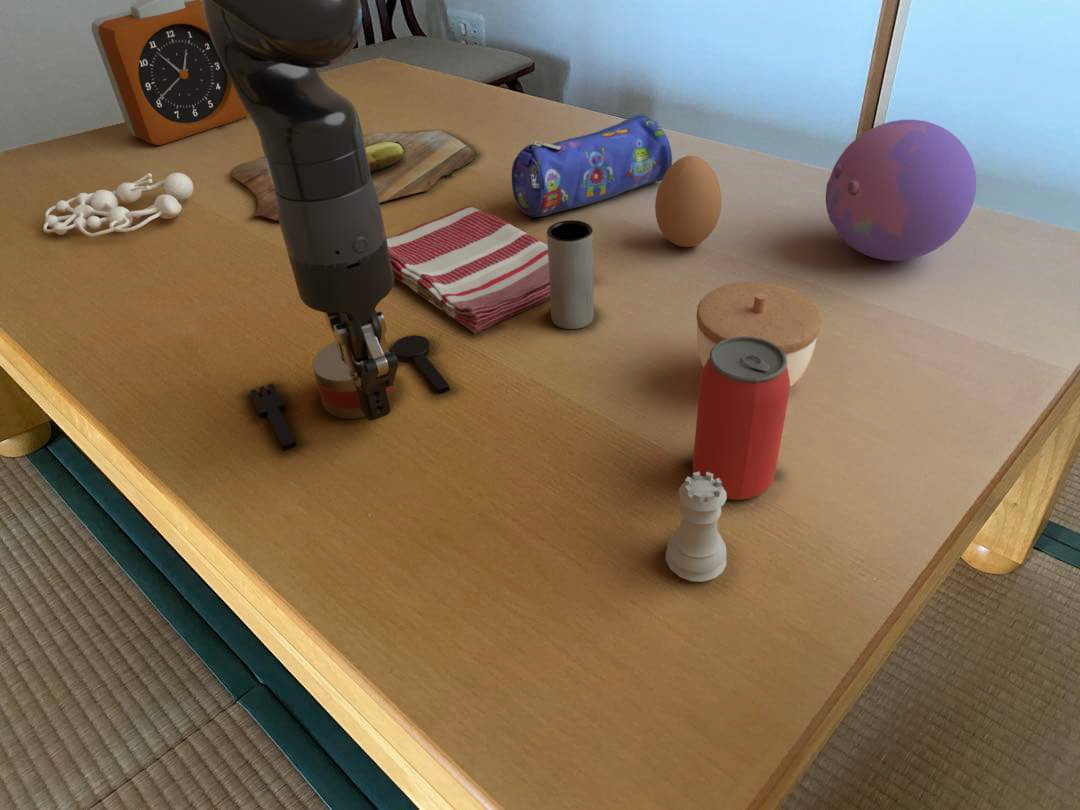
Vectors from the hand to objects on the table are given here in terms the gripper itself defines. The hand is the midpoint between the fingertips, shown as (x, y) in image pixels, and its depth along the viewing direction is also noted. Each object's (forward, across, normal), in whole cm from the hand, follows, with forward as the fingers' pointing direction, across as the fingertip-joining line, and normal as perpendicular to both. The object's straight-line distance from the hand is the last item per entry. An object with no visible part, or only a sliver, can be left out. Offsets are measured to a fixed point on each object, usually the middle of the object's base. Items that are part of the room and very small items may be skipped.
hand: (376, 413), depth 73 cm
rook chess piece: (+2, +27, +15) cm, 31 cm away
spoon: (+2, -7, +7) cm, 10 cm away
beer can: (+2, +21, +23) cm, 31 cm away
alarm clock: (+1, -94, 0) cm, 94 cm away
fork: (+2, -7, -8) cm, 10 cm away
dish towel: (+2, -22, +20) cm, 30 cm away
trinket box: (+2, +12, +32) cm, 35 cm away
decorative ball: (+2, +1, +62) cm, 62 cm away
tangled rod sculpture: (+1, -61, -15) cm, 63 cm away
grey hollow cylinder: (+2, -6, +24) cm, 25 cm away
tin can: (+2, -6, 0) cm, 6 cm away
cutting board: (+1, -58, +18) cm, 61 cm away
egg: (+2, -13, +44) cm, 46 cm away
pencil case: (+2, -31, +41) cm, 51 cm away
